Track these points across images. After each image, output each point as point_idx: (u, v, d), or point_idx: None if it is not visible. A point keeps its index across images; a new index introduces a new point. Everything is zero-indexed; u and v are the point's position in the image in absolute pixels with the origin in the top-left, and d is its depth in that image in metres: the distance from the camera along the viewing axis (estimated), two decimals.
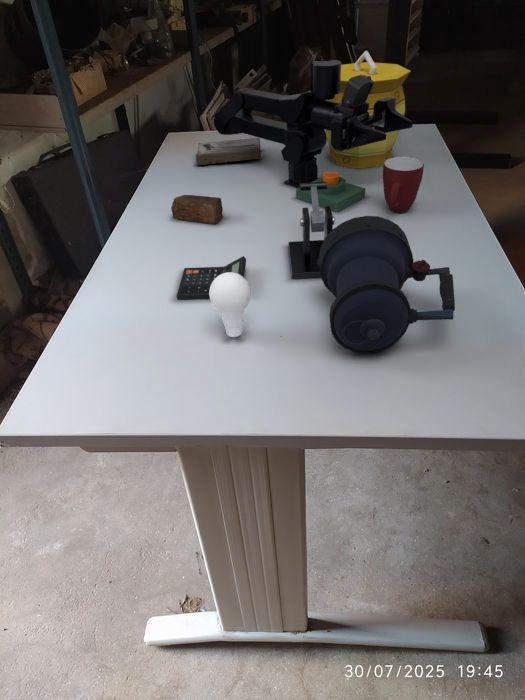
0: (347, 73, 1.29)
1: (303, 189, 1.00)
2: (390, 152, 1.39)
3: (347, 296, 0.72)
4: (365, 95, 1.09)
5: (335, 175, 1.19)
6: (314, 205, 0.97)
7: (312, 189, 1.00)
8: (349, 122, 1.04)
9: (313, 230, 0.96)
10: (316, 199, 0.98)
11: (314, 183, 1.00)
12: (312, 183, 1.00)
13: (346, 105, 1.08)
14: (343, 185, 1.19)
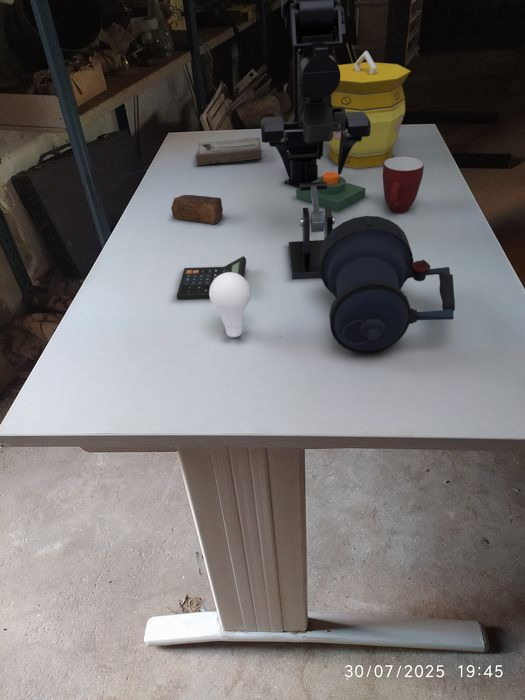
0: (347, 73, 1.29)
1: (303, 189, 1.00)
2: (390, 152, 1.39)
3: (347, 296, 0.72)
4: None
5: (335, 175, 1.19)
6: (314, 205, 0.97)
7: (312, 189, 1.00)
8: None
9: (313, 230, 0.96)
10: (316, 199, 0.98)
11: (314, 183, 1.00)
12: (312, 183, 1.00)
13: (300, 118, 0.90)
14: (343, 185, 1.19)
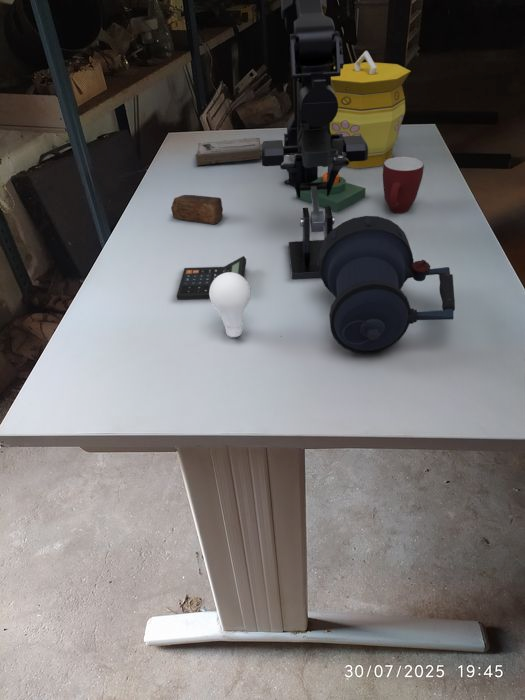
0: (347, 73, 1.29)
1: (303, 189, 1.00)
2: (390, 152, 1.39)
3: (347, 296, 0.72)
4: None
5: None
6: (314, 205, 0.97)
7: (312, 189, 1.00)
8: None
9: (313, 230, 0.96)
10: (316, 199, 0.98)
11: (314, 183, 1.00)
12: (312, 183, 1.00)
13: (299, 144, 0.92)
14: (343, 185, 1.19)
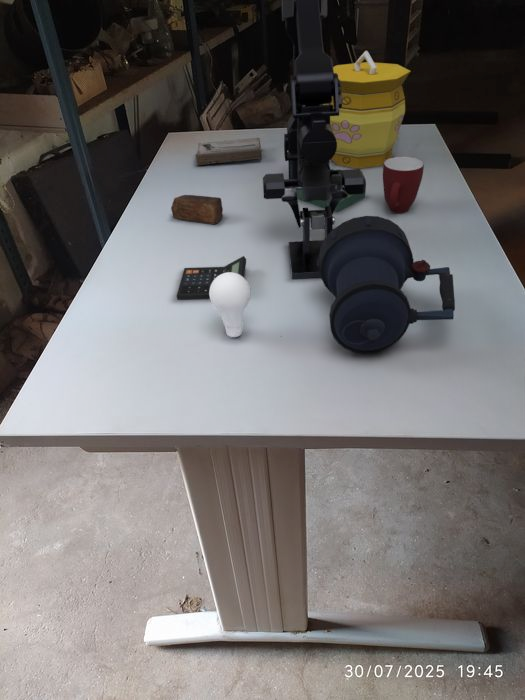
0: (347, 73, 1.29)
1: None
2: (390, 152, 1.39)
3: (347, 296, 0.72)
4: None
5: None
6: None
7: (312, 212, 1.03)
8: None
9: (313, 227, 0.95)
10: None
11: (314, 210, 1.04)
12: (312, 210, 1.04)
13: (299, 178, 0.96)
14: None
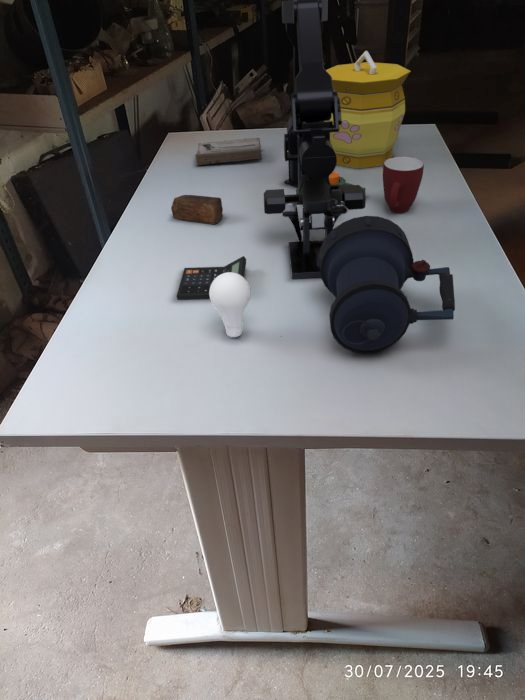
0: (347, 73, 1.29)
1: None
2: (390, 152, 1.39)
3: (347, 296, 0.72)
4: None
5: (335, 175, 1.19)
6: None
7: None
8: None
9: (313, 225, 0.95)
10: None
11: None
12: None
13: (300, 193, 0.97)
14: (343, 185, 1.19)
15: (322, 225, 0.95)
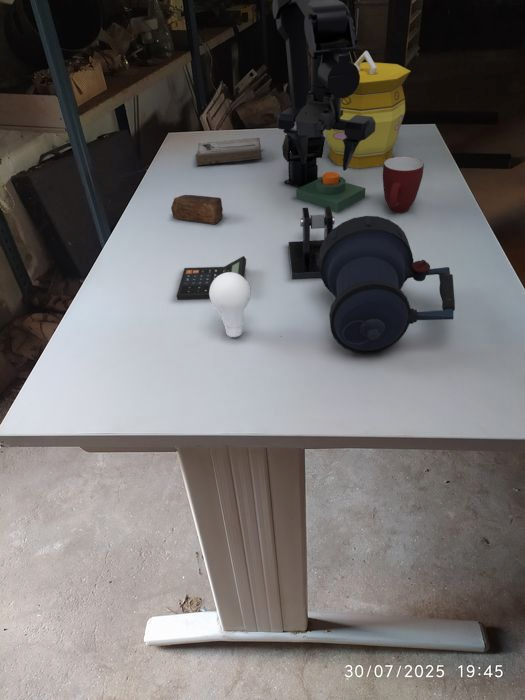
0: None
1: None
2: (390, 152, 1.39)
3: (347, 296, 0.72)
4: None
5: (335, 175, 1.19)
6: None
7: None
8: None
9: (313, 226, 0.95)
10: None
11: None
12: None
13: None
14: (343, 185, 1.19)
15: (322, 226, 0.95)
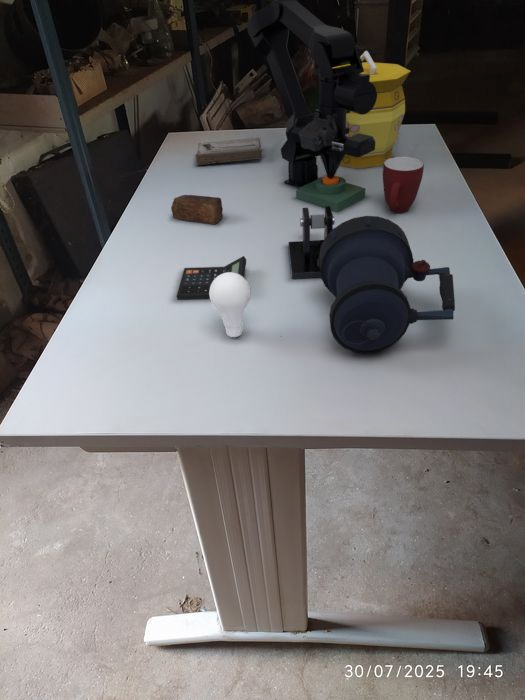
0: None
1: None
2: (390, 152, 1.39)
3: (347, 296, 0.72)
4: None
5: (335, 178, 1.20)
6: None
7: None
8: None
9: (313, 226, 0.95)
10: None
11: None
12: None
13: None
14: (343, 185, 1.19)
15: (322, 226, 0.95)
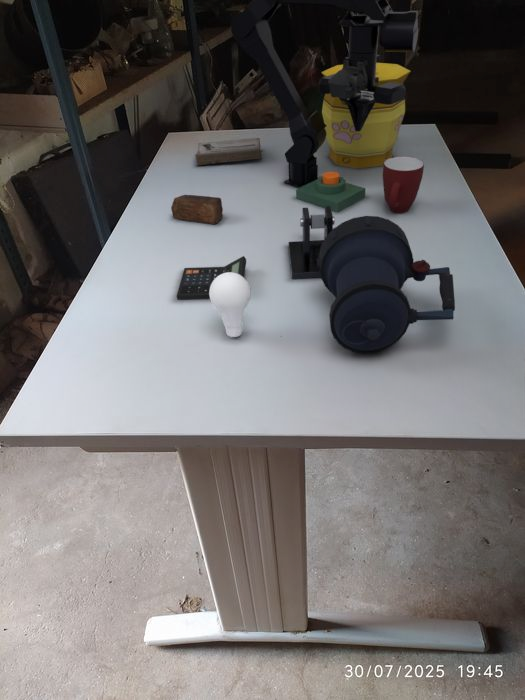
0: None
1: None
2: (390, 152, 1.39)
3: (347, 296, 0.72)
4: None
5: (335, 175, 1.19)
6: None
7: None
8: None
9: (313, 226, 0.95)
10: None
11: None
12: None
13: None
14: (343, 185, 1.19)
15: (322, 226, 0.95)
